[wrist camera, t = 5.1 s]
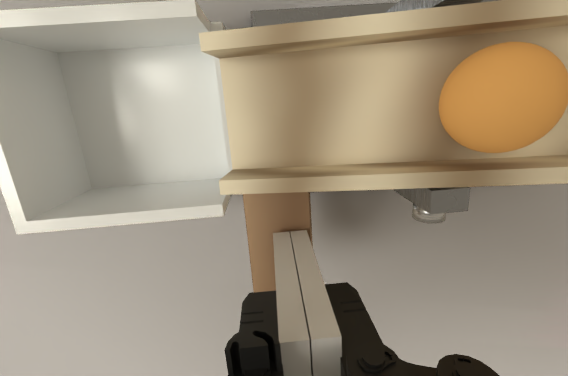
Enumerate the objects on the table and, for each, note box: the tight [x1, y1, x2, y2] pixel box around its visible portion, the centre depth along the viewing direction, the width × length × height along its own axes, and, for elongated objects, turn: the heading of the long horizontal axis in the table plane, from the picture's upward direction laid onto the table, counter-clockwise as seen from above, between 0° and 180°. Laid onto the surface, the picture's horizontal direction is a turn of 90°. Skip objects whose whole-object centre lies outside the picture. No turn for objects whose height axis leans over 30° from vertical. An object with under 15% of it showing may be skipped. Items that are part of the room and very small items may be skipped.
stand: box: [251, 0, 500, 223], centre depth 15 cm, size 17×11×8 cm, turn 94°
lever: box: [199, 0, 568, 292], centre depth 12 cm, size 18×12×3 cm, turn 94°
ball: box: [439, 42, 568, 153], centre depth 10 cm, size 4×4×4 cm
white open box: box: [0, 0, 234, 234], centre depth 16 cm, size 9×10×6 cm
